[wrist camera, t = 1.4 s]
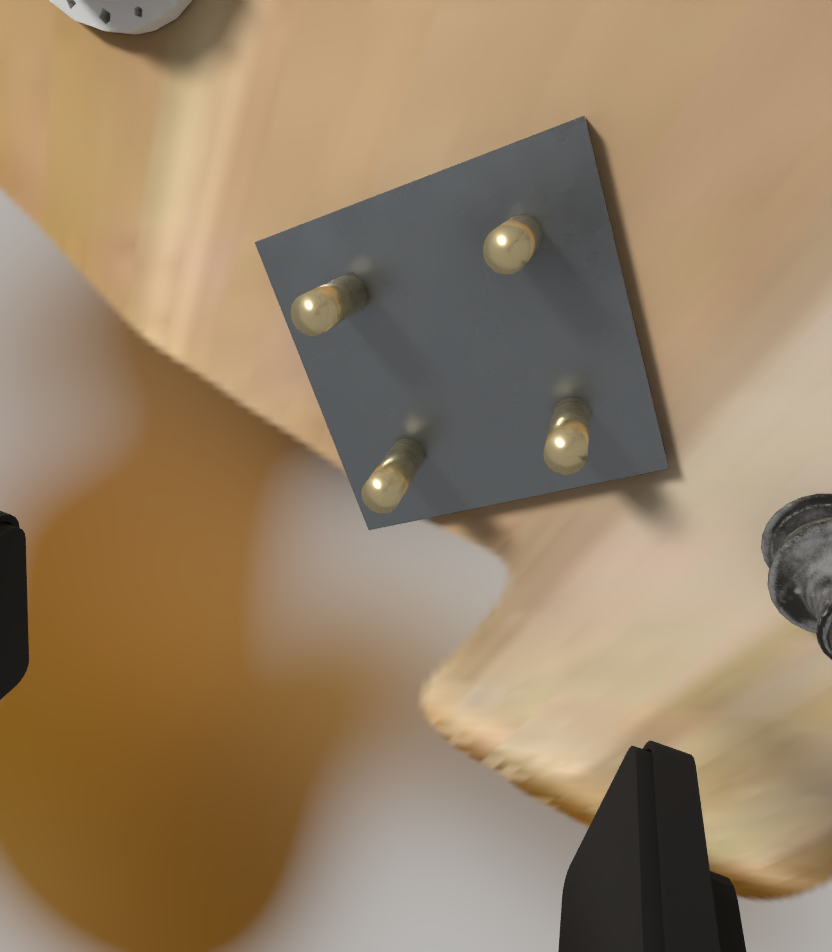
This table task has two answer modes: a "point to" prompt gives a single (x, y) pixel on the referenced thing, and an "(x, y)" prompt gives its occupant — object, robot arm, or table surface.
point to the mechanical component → (123, 13)
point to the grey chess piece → (802, 564)
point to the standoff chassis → (472, 333)
